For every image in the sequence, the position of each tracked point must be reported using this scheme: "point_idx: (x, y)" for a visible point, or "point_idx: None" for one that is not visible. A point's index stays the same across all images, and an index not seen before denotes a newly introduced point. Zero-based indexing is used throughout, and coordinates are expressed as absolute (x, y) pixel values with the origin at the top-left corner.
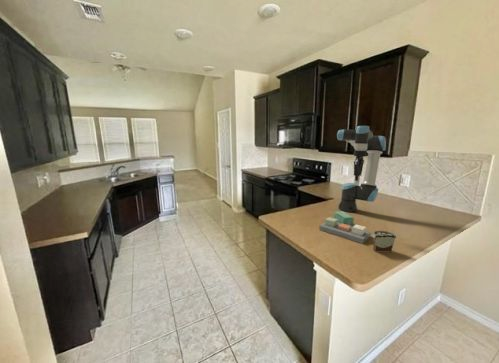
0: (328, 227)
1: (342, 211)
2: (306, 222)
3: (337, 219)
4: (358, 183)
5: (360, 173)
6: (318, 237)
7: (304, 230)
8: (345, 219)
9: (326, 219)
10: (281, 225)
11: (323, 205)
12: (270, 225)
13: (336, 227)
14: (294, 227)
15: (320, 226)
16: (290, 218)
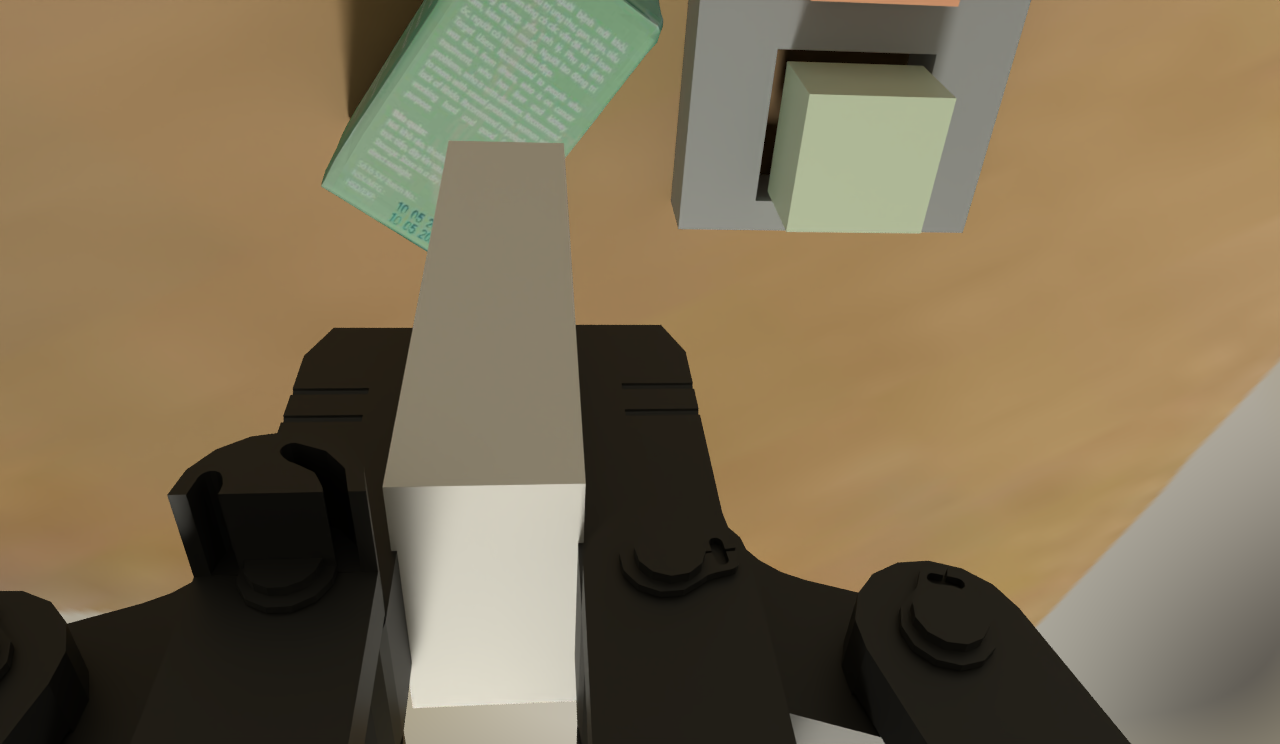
0: (968, 116)
1: (354, 184)
2: (804, 401)
3: (820, 95)
4: (562, 190)
5: (219, 677)
6: (1185, 108)
7: (1054, 310)
8: (652, 5)
9: (920, 219)
10: (1039, 513)
11: (6, 541)
12: (1090, 567)
13: (904, 28)
14: (1025, 414)
15: (963, 214)
16: (799, 552)
